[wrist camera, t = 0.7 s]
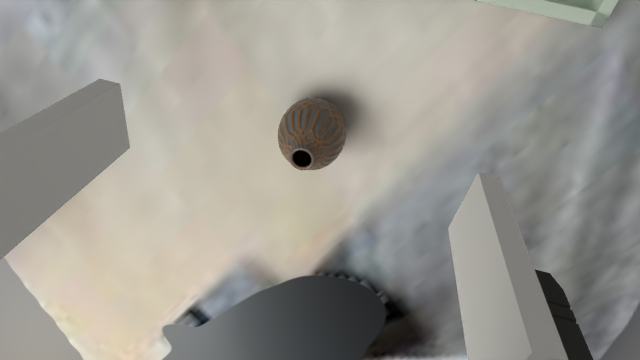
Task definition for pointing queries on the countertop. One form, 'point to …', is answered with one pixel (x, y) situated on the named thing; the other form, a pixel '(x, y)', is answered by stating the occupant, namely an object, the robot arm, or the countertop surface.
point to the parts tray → (564, 9)
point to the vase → (311, 134)
